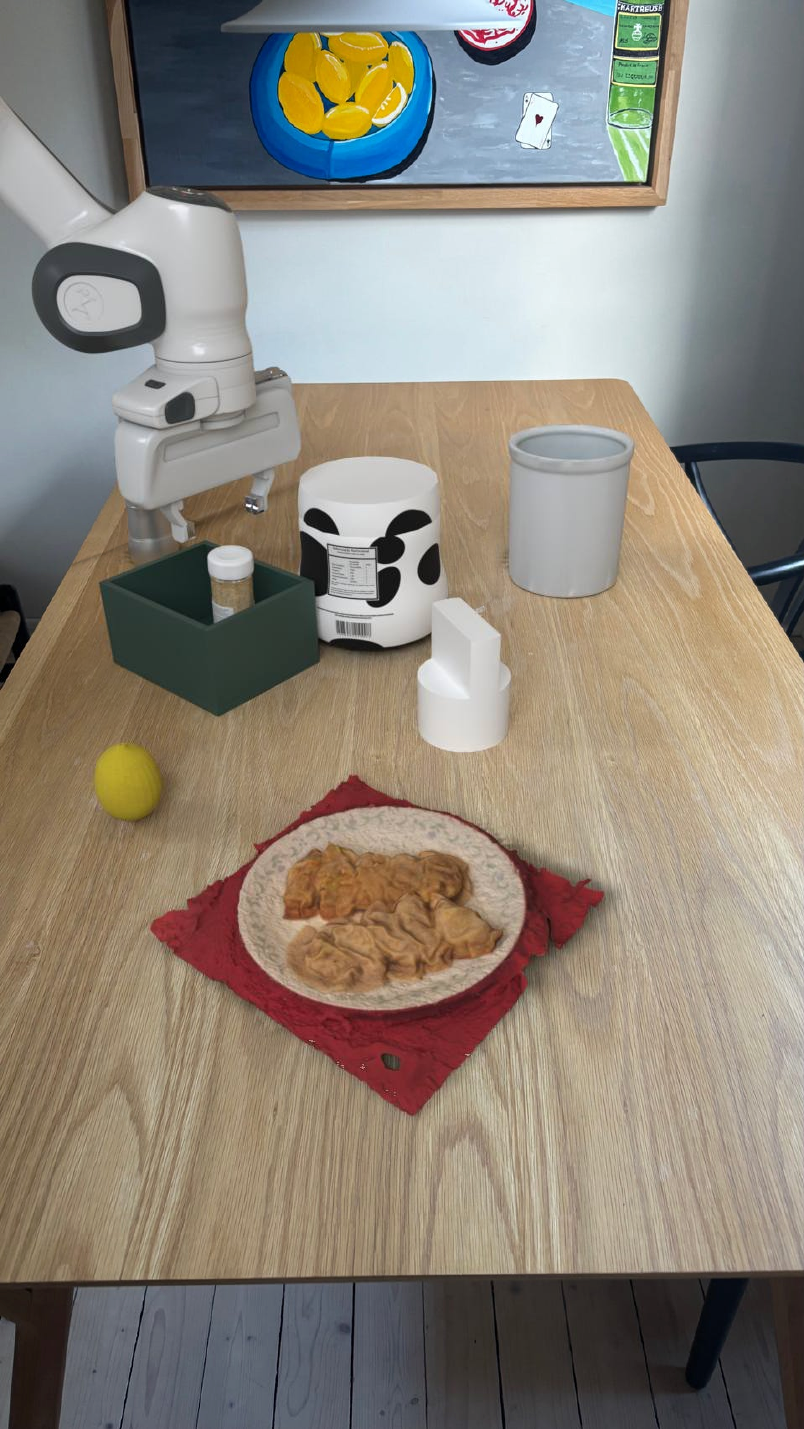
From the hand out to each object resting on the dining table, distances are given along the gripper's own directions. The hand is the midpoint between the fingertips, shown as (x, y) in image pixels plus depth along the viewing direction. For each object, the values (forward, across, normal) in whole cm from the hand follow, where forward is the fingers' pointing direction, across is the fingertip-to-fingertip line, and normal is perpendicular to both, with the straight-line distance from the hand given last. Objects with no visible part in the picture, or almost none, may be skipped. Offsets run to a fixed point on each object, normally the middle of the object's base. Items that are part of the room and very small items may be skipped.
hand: (222, 525), depth 102 cm
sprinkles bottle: (+16, 0, 0) cm, 16 cm away
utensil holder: (+17, -43, +13) cm, 48 cm away
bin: (+17, 0, -4) cm, 18 cm away
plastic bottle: (+17, -12, -30) cm, 37 cm away
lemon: (+17, +23, +12) cm, 31 cm away
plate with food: (+17, +19, +37) cm, 45 cm away
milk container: (+17, -17, +4) cm, 25 cm away
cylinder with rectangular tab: (+17, -7, +25) cm, 31 cm away
